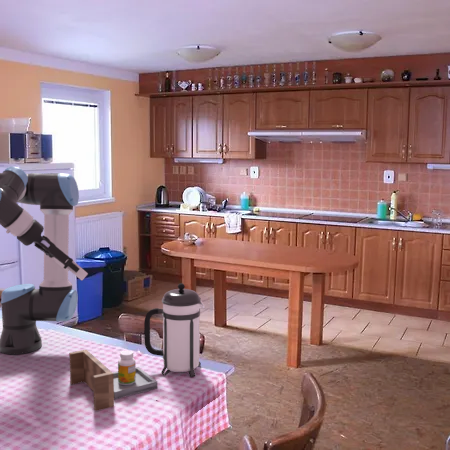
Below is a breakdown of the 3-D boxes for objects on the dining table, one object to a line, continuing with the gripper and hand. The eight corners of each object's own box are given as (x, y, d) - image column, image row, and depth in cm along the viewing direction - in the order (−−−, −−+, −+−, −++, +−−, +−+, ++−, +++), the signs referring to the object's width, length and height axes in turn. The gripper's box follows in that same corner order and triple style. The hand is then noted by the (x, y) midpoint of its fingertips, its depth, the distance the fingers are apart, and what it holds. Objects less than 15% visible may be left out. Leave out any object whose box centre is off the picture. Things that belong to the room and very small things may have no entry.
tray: (97, 382, 177) (97, 375, 177) (138, 373, 185) (138, 366, 185) (114, 399, 166) (114, 392, 166) (157, 388, 173) (157, 381, 173)
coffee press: (188, 357, 199) (188, 275, 195) (211, 373, 185) (212, 285, 181) (143, 367, 190) (142, 281, 185) (164, 384, 176) (164, 292, 172)
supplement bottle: (114, 382, 175) (114, 352, 174) (128, 377, 179) (128, 348, 178) (124, 387, 172) (124, 357, 170) (139, 382, 175) (138, 352, 174)
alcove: (70, 383, 177) (69, 352, 175) (87, 379, 180) (86, 349, 178) (95, 411, 158) (94, 377, 157) (114, 406, 161) (113, 373, 160)
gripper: (6, 232, 171) (56, 274, 182) (27, 244, 151) (82, 290, 161) (23, 213, 173) (72, 256, 184) (46, 223, 153) (99, 270, 163)
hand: (77, 272), depth 172 cm, fingers open, 13 cm apart
